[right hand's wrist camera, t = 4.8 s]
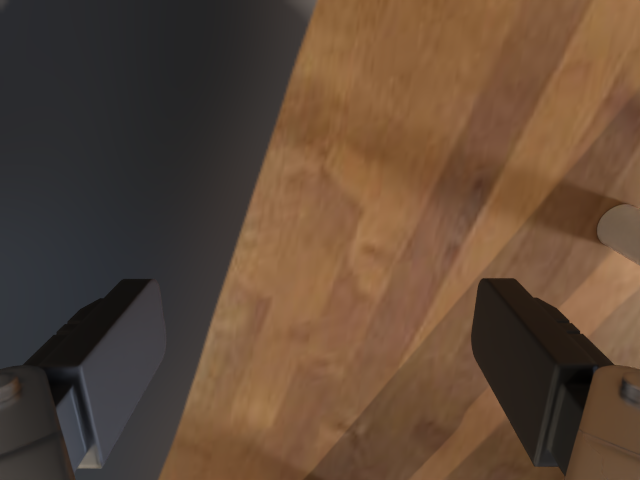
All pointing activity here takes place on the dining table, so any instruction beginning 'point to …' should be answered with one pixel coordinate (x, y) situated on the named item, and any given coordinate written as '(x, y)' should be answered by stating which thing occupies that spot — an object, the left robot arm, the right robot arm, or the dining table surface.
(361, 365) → the dining table surface
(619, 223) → the jar
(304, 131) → the dining table surface
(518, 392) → the right robot arm
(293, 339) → the dining table surface
